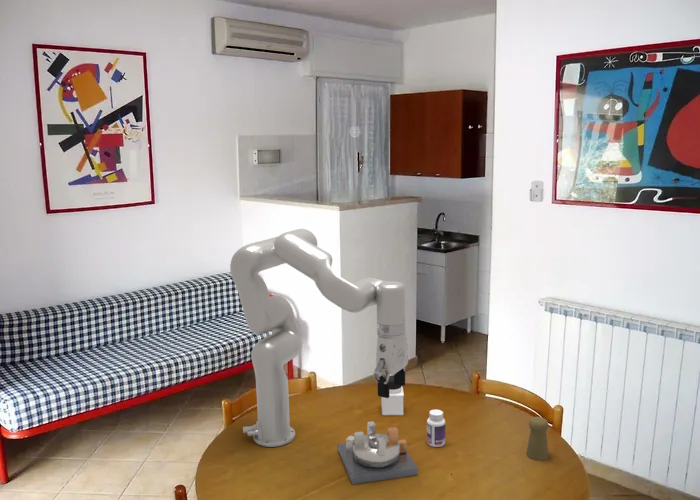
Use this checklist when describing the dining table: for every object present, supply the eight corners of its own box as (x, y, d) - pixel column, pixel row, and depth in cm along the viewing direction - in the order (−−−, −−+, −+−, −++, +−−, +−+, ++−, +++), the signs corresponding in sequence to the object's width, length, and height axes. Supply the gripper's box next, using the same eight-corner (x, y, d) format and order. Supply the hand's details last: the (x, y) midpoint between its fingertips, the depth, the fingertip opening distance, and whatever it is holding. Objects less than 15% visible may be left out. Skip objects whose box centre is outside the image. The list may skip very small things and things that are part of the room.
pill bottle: (447, 440, 180) (447, 410, 178) (442, 449, 175) (442, 417, 173) (430, 437, 182) (430, 407, 180) (424, 445, 177) (424, 414, 175)
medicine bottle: (404, 415, 197) (404, 380, 194) (382, 415, 197) (381, 380, 195) (402, 406, 204) (402, 372, 201) (381, 406, 204) (381, 372, 202)
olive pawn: (548, 451, 172) (550, 415, 171) (548, 462, 167) (550, 425, 165) (526, 448, 174) (528, 412, 172) (525, 458, 169) (527, 422, 167)
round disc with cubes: (359, 470, 160) (358, 445, 159) (348, 446, 173) (347, 423, 171) (413, 462, 164) (413, 438, 162) (398, 439, 176) (398, 417, 175)
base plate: (352, 484, 158) (352, 464, 157) (338, 450, 175) (337, 432, 174) (417, 474, 162) (417, 455, 161) (397, 442, 179) (397, 425, 178)
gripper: (388, 340, 150) (388, 405, 153) (418, 321, 164) (418, 382, 167) (362, 335, 153) (363, 399, 157) (393, 318, 168) (394, 377, 171)
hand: (391, 390), depth 162 cm, fingers open, 8 cm apart
